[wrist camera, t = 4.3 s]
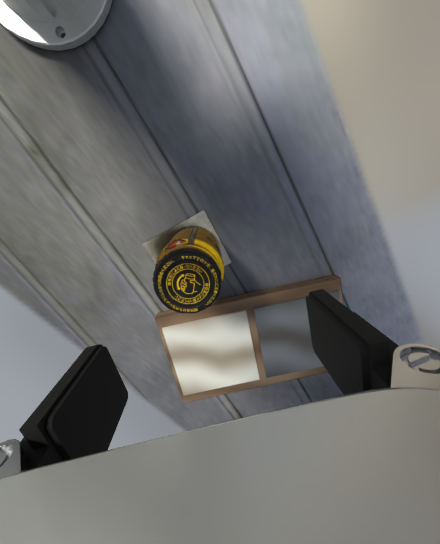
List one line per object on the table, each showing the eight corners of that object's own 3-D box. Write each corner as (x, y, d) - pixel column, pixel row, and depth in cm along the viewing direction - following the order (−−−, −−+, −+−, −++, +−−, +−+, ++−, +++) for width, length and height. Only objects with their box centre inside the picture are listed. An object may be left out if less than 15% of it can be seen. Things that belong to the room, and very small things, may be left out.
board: (157, 313, 31) (154, 319, 29) (334, 274, 30) (342, 278, 29) (184, 394, 35) (183, 404, 33) (340, 361, 35) (347, 369, 33)
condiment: (231, 262, 29) (247, 301, 18) (174, 292, 30) (154, 348, 19) (203, 209, 27) (201, 216, 16) (142, 243, 28) (98, 272, 17)
